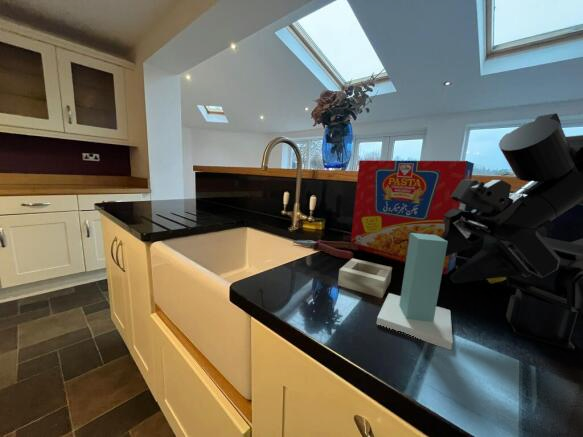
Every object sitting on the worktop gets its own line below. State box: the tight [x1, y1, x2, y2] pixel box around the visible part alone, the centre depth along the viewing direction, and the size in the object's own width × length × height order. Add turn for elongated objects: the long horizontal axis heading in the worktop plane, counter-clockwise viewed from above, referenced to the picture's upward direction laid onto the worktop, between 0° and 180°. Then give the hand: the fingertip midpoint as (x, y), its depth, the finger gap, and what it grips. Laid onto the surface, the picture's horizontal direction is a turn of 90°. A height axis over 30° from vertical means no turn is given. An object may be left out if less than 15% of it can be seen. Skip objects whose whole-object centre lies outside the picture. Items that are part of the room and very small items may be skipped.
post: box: [399, 233, 448, 322], centre depth 39 cm, size 4×4×13 cm
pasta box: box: [350, 159, 475, 275], centre depth 72 cm, size 28×8×28 cm, turn 44°
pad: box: [376, 292, 454, 351], centre depth 40 cm, size 10×10×1 cm
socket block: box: [337, 257, 393, 299], centre depth 53 cm, size 9×9×4 cm
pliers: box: [292, 239, 359, 260], centre depth 77 cm, size 12×20×3 cm, turn 66°
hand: (438, 268), depth 39 cm, fingers open, 9 cm apart
